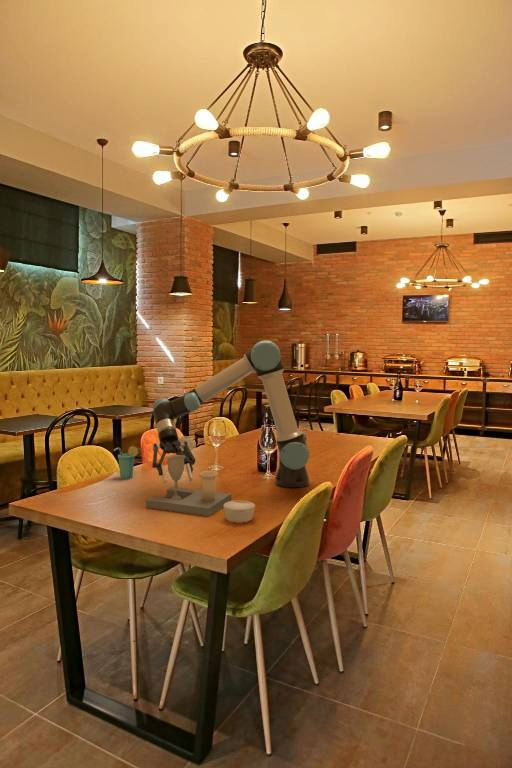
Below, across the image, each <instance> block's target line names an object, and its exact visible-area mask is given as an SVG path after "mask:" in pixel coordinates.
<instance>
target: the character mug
mask: <svg viewBox="0 0 512 768" xmlns="http://www.w3.org/2000/svg"><path fill="white" fill-rule="evenodd" d="M178 440H179V441H180V443H184V442H185V441H186V442H187V444H188V447H189V449H190V451H193V449H196V448H197V443H196V441H194V438H193V436H185V435H184V436H178ZM180 448H181V450H182V452H183V453H184V454H185V455H186V453H185V451H184V449H183V448H182V447H181V446H180ZM186 456H187V455H186ZM184 464H185V462H184Z"/></svg>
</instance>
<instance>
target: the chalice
mask: <svg viewBox="0 0 512 768" xmlns="http://www.w3.org/2000/svg"><path fill="white" fill-rule="evenodd" d="M184 458H185V456H184V455H176V454H171V455H167V456H166V459H167V471H168V473H169V477H170V478H171V479H172V480H173V481H174V485H173V487H175V489H174V491H175V495H174V496H173V497H172V498H170V499H177V500H182V499H181V497H180V496H178V494H177V492H178V489H177V487H179V484H178V481H180V480H181V478H182V476H183V473H184V470H185V463H184Z"/></svg>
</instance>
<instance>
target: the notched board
mask: <svg viewBox="0 0 512 768" xmlns="http://www.w3.org/2000/svg"><path fill="white" fill-rule="evenodd" d="M198 476H199V478H201V489H196V488H195V489H194V488H186V487H179V486H178V487H177V489H178V492H177V494H178V496H180V497H181V499H182V500H177V499H171V498H172V497H173V496H174V495H175V491H174V489H175V486H171V487H169V488H168V489H166V497H161V496H151V497H149V498H147V499H145V501H146V502H145V503H146V504H145V508H146V507H147V509H152V508H155V509H154V510H159V509H161V511H166V510H169V511H168V512H173V511H175V513H180V512H183V513H182V514H187V513H190V514H189V515H194V514H196V515H197V516H202V515H204V517H210V516H212V515H213V514H215V513H216V512H217V510H218V509H219V510H221V509H222V508H224V507H223V506H224V504H225V503H226V502H229V501H232V493H227V492H220V491H216V478H218V476H219V472H218V471H215V470H203V471H200V472H199V474H198ZM170 497H171V498H170ZM221 507H222V508H221ZM220 508H221V509H220ZM219 510H218V511H219ZM215 511H216V512H215ZM214 512H215V513H214ZM212 513H213V514H212ZM211 514H212V515H211Z"/></svg>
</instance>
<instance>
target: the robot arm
mask: <svg viewBox="0 0 512 768" xmlns="http://www.w3.org/2000/svg"><path fill="white" fill-rule="evenodd" d="M282 359H283V358H282V356H281V350H280V347H279V346H278V345H277V344H276V343H275V342H273V341H271V340H267V339H266V340H265V339H264V340H260V341H257V342H256V343H255V344H254V345H253V347H252V348H251V349H250V350H249V351H247V352H245V353H244V355H243V357H242V358H240V359H239V360H238V361H236V362H234V363H233V364H231V365H229V366H228V367H226V368H224V369H223V370H221V371H220V372H218V373H216V374H215V375H213V376H212V377H210V378H209V379H206V380H205V381H203V382H202V383H200V384H199V385H197V386H196V387H194V388H193V389H190V390H189V391H188V392H185V393H184V394H183V395H182V396H180V397H178V398H175V399H173V400H169V399H167V398H162V399H161V398H159V399H155V401H154V402H153V404H152V415H153V417H154V422H155V426H156V431H157V435H158V440H159V443H158V444H157V442H156V443H155V442H154V443H153V445H152V450H153V456H152V466H151V468H153V469H156V470H157V473H158V475H159V476H161V480H162V484H163V485H166V484H167V483H166V482H167V475H166V470H165V467H164V465H163V463H164V459H165V457H166V455H168V454H175V455H184V456H185V458H184V462H185V463H184V465H186V466H185V469H186V473H187V479H188V482H192V480H193V472H194V467H193V466H194V465H195V464H196V463H195V462H197V461H196V458H195V456H194V455H193V453H192V450H190V449H189V447H188V444H187V442H186V441H185V442H184V443H180V441H179V436H178V432H177V427H176V424H175V419H178V418H179V417H180V418H181V417H183V416H185V415H189V414H190V413H194V412H195V411H197V410H199V409H200V408H201V405H202V404H204V403H205V402H207V401H209V400H210V399H211V398H213V397H215V396H217V395H219V394H220V393H222V392H223V391H225V390H227V389H228V388H229V387H231V386H234V384H236V383H238V382H239V381H241V380H243V379H244V378H246V377H248V376H249V375H250V374H252V373H253V374H254V373H255V374H256V377H257V378H259V379H260V380H261V381H262V384H263V388H264V391H265V395H266V399H267V401H268V405H269V408H270V409H269V410H270V412H271V414H272V415H271V416H272V417H273V418H272V419H273V423H274V425H275V429H276V433H277V437H276V438H275V442H276V445H277V448H278V453H279V457H278V458H279V462H278V468H277V472H276V475H275V478H274V484H275V485H276V484H277V485H276V486H279V487H282V488H288V487H300V488H304V486H305V487H308V486H309V485H310V477H309V475H308V471H307V470H308V469H307V466H306V464H307V463H308V462H309V459H310V451H309V450H310V449H308V447H307V446H308V445H307V434H306V432H303V431H302V430H300V429H299V427H298V423H297V422H296V417H295V415H294V410H293V407H292V403H291V400H290V397H289V394H288V390H287V386H286V383H285V380H284V376H283V372H284V370H285V367H284V362H283V360H282ZM180 446H181V447H182V448H183V449H184V451H185V453H186V455H187V456H186V455H185V454H184V453H183V452H182V450H181V448H180ZM159 448H160V449H159ZM159 450H162V452H161V453H162V454H161V455H160V459H159V461H157V460H158V452H159ZM157 462H158V463H157ZM307 485H308V486H307Z"/></svg>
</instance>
